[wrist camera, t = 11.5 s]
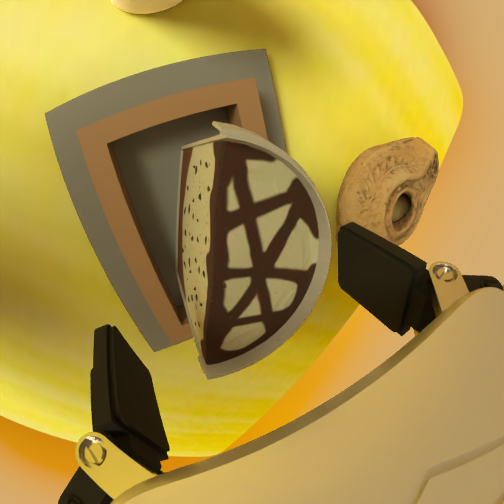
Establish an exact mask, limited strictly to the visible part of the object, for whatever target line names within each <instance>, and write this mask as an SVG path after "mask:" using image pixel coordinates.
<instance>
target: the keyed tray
mask: <svg viewBox="0 0 504 504" xmlns="http://www.w3.org/2000/svg"><path fill="white" fill-rule="evenodd" d="M45 117H46V121H47V125H48V129H49V133H50V136H51V140H52V143H53V147H54V150H55V153H56V157H57V160H58V163H59V166H60V169H61V172H62V175H63V178H64V180H65V183H66V186H67V189H68V191H69V194H70V197H71V199H72V202H73V204H74V207H75V209H76V211H77V214H78V216H79V219H80V221H81V223H82V225H83V228H84V230H85V232H86V234H87V237H88V239H89V241H90V243H91V245H92V247H93V249H94V251H95V253H96V255H97V257H98V259H99V261H100V263H101V265H102V267H103V269H104V271H105V273H106V275H107V276H108V278H109V280H110V282H111V284H112V286H113V287H114V289H115V291H116V293H117V294H118V296H119V298H120V300H121V301H122V303H123V305H124V306H125V308H126V310H127V311H128V313H129V315H130V316H131V318H132V319H133V321H134V323H135V324H136V326H137V327H138V329H139V330H140V332H141V333H142V335H143V336H144V338H145V339H146V341H147V342H148V344H149V345H150V347H151V348H152V350H153V351H154V352H156V351H159V350H162V349H164V348H167V347H170V346H172V345H175V344H178V343H180V342H183V341H185V340H188V339H190V338H193V334H192V330H191V327H190V323H189V320H188V316H187V313H186V309H185V306H184V302H183V298H182V294H181V290H180V287H179V283H178V279H177V275H176V271H175V265H176V218H177V197H178V180H179V167H180V155H181V146H184V145H187V144H190V143H193V142H196V141H200V140H203V139H206V138H209V137H213V136H216V135H220V131H219V130H218V129H217V128H215V127H214V126H213V125H212V122H213V121H216V122H221V123H227V124H232V125H236V126H238V127H241V128H244V129H246V130H249V131H252V132H254V133H256V134H258V135H260V136H261V137H263V138H264V139H266V140H268V141H269V142H271V143H273V144H274V145H276V146H277V147H279V148H280V149H282V150H283V151H284V152H286V146H285V141H284V135H283V130H282V124H281V119H280V114H279V109H278V104H277V99H276V94H275V89H274V84H273V80H272V75H271V71H270V66H269V62H268V57H267V53H266V49H259V50H248V51H239V52H231V53H224V54H217V55H211V56H206V57H200V58H195V59H190V60H186V61H181V62H177V63H173V64H169V65H165V66H161V67H158V68H154V69H151V70H147V71H144V72H141V73H138V74H135V75H132V76H129V77H126V78H123V79H120V80H117V81H115V82H112V83H109V84H107V85H104V86H102V87H99V88H97V89H94V90H92V91H90V92H87V93H85V94H83V95H81V96H79V97H76V98H74V99H72V100H70V101H68V102H66V103H64V104H62V105H60V106H58V107H56V108H54V109H53V110H51V111H49V112H47V113H45ZM286 153H287V152H286Z"/></svg>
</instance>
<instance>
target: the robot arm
mask: <svg viewBox="0 0 504 504" xmlns="http://www.w3.org/2000/svg"><path fill="white" fill-rule="evenodd" d="M337 237H338V282H339V285H340V287H341V288H342V289H343V290H344V291H345V292H346V293H347V294H349V295H350V296H351V297H352V298H353V299H355V300H356V301H357V302H358V303H359V304H361V305H362V306H363V307H364V308H365V309H367V310H368V311H369V312H370V313H371V314H373V315H374V316H375V317H376V318H378V319H379V320H380V321H381V322H382V323H383V324H384V325H386V326H387V327H388V328H389V329H390V330H392V331H393V332H397V333H398V334H400V335H401V336H403V335H404V334H405V333H406V332H407V331H409V330H410V327H412V328H413V329H414V333H415V337H414V338H413V339H412V340H411V341H410V342H408V343H407V344H406V345H405V346H404V347H402V348H401V349H400V350H399V351H397V352H396V353H395V354H394V355H393V356H391V357H390V358H389V359H387V360H386V361H385V362H384V363H382V364H381V365H380V366H378V367H377V368H376V369H374V370H373V371H372V372H370V373H369V374H367V375H366V376H365V377H363V378H362V379H360V380H359V381H357V382H356V383H354V384H353V385H352V386H350V387H349V388H347V389H346V390H344V391H342V392H341V393H339V394H338V395H336V396H335V397H333V398H331V399H330V400H328V401H327V402H325V403H323V404H322V405H320V406H318V407H317V408H315V409H313V410H311V411H310V412H308V413H306V414H305V415H303V416H301V417H299V418H297V419H295V420H294V421H292V422H290V423H288V424H286V425H284V426H282V427H280V428H278V429H276V430H274V431H272V432H270V433H268V434H266V435H263V436H261V437H259V438H257V439H255V440H252V441H250V442H248V443H246V444H243V445H241V446H239V447H236V448H234V449H231V450H229V451H227V452H224V453H221V454H218V455H216V456H213V457H211V458H208V459H205V460H202V461H200V462H196V463H194V464H191V465H187V466H184V467H181V468H178V469H175V470H172V471H169V472H164V471H163V470H161V463H160V461H163V460H166V459H168V455H167V451H169V450H170V448H169V444H168V441H167V437H166V434H165V431H164V427H163V423H162V420H161V416H160V412H159V408H158V404H157V400H156V396H155V392H154V387H153V383H152V378H151V375H150V372H149V370H148V369H147V368H146V366H145V365H144V364H143V363H142V361H141V360H140V359H139V357H138V356H137V355H136V354H135V352H134V351H133V350H132V348H131V347H130V346H129V344H128V343H127V341H126V340H125V339H124V337H123V336H122V335H121V333H120V332H119V330H118V329H117V328H116V327H115V326H113V327H111V326H110V325H109V324H107V325H105V326H102V327H100V328H97V329H95V332H94V356H93V368H92V370H91V411H92V425H93V432H89V433H87V434H85V435H83V436H82V437H81V438H80V439H79V441H78V443H77V445H76V449H75V457H76V460H77V462H78V464H79V465H80V467H79V468H78V470H77V471H76V473H75V474H74V476H73V477H72V479H71V481H70V482H69V484H68V485H67V487H66V489H65V490H64V492H63V493H62V495H61V496H60V499H59V501H58V504H504V285H503V286H502V285H501V283H500V282H499V281H498V280H497V279H496V278H494V277H491V276H475V275H461V273H460V271H459V270H458V268H456V267H455V266H454V265H452V264H450V263H447V262H435V263H433V264H432V265H431V266H430V268H429V271H428V270H427V269H426V264H427V263H426V262H425V261H423V260H421V259H419V258H417V257H416V256H414V255H413V254H411V253H409V252H407V251H406V250H404V249H402V248H400V247H399V246H397V245H395V244H394V243H392V242H390V241H388V240H386V239H385V238H383V237H381V236H379V235H377V234H375V233H374V232H372V231H370V230H368V229H366V228H364V227H362V226H360V225H359V224H357V223H355V222H350V223H348V224H345V225H343V226H341V227H340V229H339V232H338V234H337Z"/></svg>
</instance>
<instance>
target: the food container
mask: <svg viewBox="0 0 504 504" xmlns="http://www.w3.org/2000/svg"><path fill="white" fill-rule="evenodd" d="M212 125H213V126H214V127H215V128H217V129H218V130H219V131H220V135H216V136H213V137H209V138H206V139H203V140H200V141H196V142H193V143H190V144H187V145H184V146H181V155H180V167H179V180H178V197H177V218H176V265H175V271H176V275H177V279H178V283H179V287H180V290H181V294H182V298H183V302H184V306H185V309H186V313H187V316H188V320H189V323H190V327H191V330H192V334H193V337H194V340H195V343H196V347H197V350H198V353H199V356H200V357H198V361H199V363H200V365H201V367H202V370H203V372H204V374H206V377H207V379H213V378H218V377H222V376H225V375H228V374H231V373H234V372H237V371H240V370H242V369H244V368H246V367H248V366H250V365H253V364H255V363H256V362H258V361H260V360H261V359H263V358H265V357H266V356H268V355H269V354H271V353H272V352H273V351H275V350H276V349H277V348H279V347H280V346H281V345H282V344H283V343H285V342H286V341H287V340H288V339H289V338H290V337H291V336H292V335H293V334H294V333H295V332H296V331H297V329H298V328H299V327H300V326H301V325H302V324H303V322H304V321H305V320H306V318H307V317H308V315H309V314H310V312H311V311H312V309H313V308H314V306H315V304H316V302H317V300H318V298H319V296H320V294H321V292H322V290H323V287H324V284H325V281H326V278H327V275H328V271H329V266H330V261H331V248H332V239H331V229H330V223H329V219H328V215H327V212H326V208H325V206H324V204H323V201H322V199H321V197H320V195H319V193H318V191H317V189H316V188H315V186H314V184H313V182H312V181H311V179H310V178H309V177H308V175H307V174H306V172H305V171H304V170H303V168H302V167H301V166H300V165H299V164H298V163H297V162H296V161H295V160H294V159H292V158H291V157H290V156H289V155H288V154H287V153H286V152H284V151H283V150H282V149H280V148H279V147H277V146H276V145H274V144H273V143H271V142H269V141H268V140H266V139H264V138H263V137H261V136H260V135H258V134H256V133H254V132H252V131H249V130H246V129H244V128H241V127H238V126H236V125H232V124H227V123H221V122H216V121H213V122H212Z"/></svg>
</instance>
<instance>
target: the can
mask: <svg viewBox="0 0 504 504" xmlns="http://www.w3.org/2000/svg"><path fill="white" fill-rule="evenodd" d="M110 1H111V2H112V4H113V5H114V6H116V7H117V8H118V9H120V10H122V11H125V12H129V13H134V14H149V13H156V12H160V11H163V10H166V9H169V8H171V7H173V6H175V5H177V4H178V3H180V2H181V1H183V0H110Z"/></svg>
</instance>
